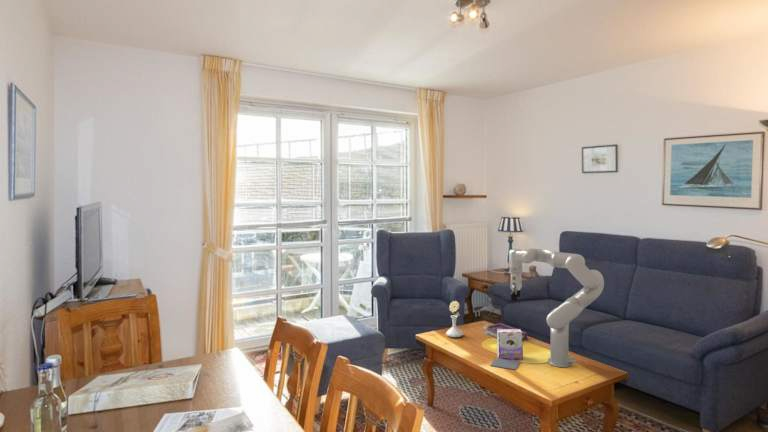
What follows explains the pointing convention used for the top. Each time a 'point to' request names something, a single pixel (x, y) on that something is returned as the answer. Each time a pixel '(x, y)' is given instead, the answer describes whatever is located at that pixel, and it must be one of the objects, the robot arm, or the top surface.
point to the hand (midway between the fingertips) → (515, 298)
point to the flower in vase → (454, 321)
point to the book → (492, 329)
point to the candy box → (509, 343)
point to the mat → (505, 363)
